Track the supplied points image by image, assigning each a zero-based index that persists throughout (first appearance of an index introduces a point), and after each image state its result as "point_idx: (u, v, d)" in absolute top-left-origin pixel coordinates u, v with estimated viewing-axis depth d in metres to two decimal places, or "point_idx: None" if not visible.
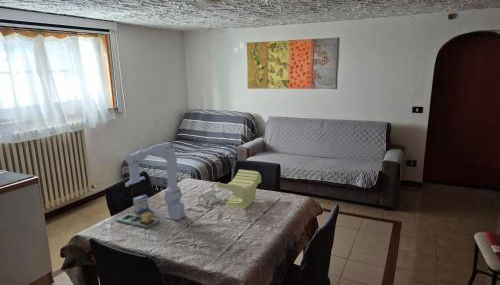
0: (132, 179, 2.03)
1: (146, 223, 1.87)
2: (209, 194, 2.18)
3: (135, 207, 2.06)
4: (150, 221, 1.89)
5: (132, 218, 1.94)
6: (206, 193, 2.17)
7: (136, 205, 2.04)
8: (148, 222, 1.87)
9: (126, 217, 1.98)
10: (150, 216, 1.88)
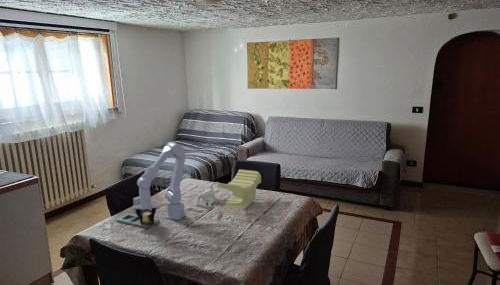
0: (140, 204, 1.86)
1: (146, 223, 1.87)
2: (208, 194, 2.17)
3: None
4: (150, 221, 1.89)
5: (132, 218, 1.94)
6: (205, 193, 2.17)
7: (136, 205, 2.04)
8: (148, 222, 1.87)
9: (126, 217, 1.98)
10: (150, 216, 1.88)
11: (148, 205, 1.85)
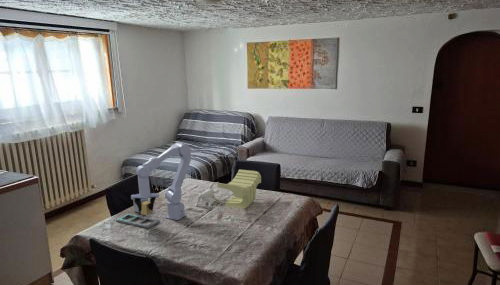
0: (139, 193, 1.85)
1: (145, 212, 1.86)
2: (208, 194, 2.17)
3: (135, 207, 2.06)
4: (149, 210, 1.87)
5: (132, 218, 1.94)
6: (205, 194, 2.16)
7: (136, 205, 2.04)
8: (147, 211, 1.86)
9: (126, 217, 1.98)
10: (149, 205, 1.87)
11: (147, 194, 1.84)
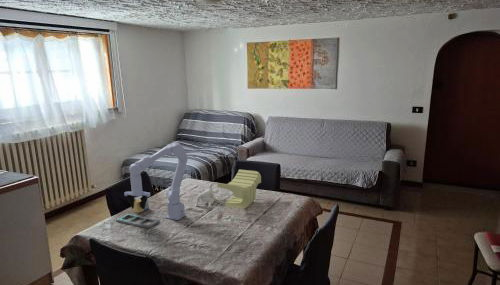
0: None
1: (136, 210, 1.88)
2: (208, 195, 2.17)
3: None
4: (141, 208, 1.89)
5: (132, 218, 1.94)
6: (205, 194, 2.16)
7: None
8: (138, 209, 1.88)
9: (126, 217, 1.98)
10: (141, 203, 1.88)
11: (138, 192, 1.86)
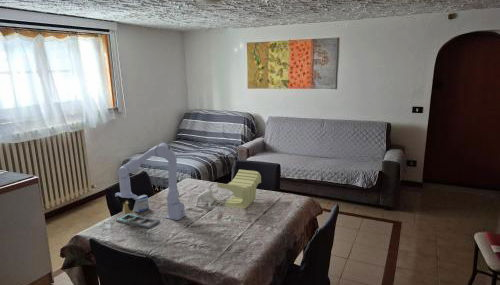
0: None
1: (124, 211, 1.92)
2: (207, 195, 2.16)
3: (135, 207, 2.06)
4: (129, 210, 1.92)
5: (132, 218, 1.94)
6: (204, 194, 2.16)
7: (136, 205, 2.04)
8: (126, 210, 1.92)
9: (126, 217, 1.98)
10: None
11: (125, 194, 1.89)
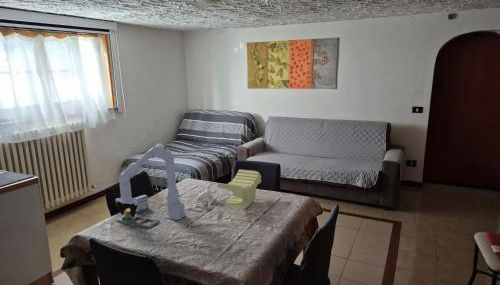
0: None
1: (125, 219, 1.93)
2: (206, 195, 2.16)
3: None
4: (129, 218, 1.93)
5: (132, 218, 1.94)
6: (204, 194, 2.15)
7: None
8: (127, 218, 1.93)
9: None
10: (130, 213, 1.93)
11: (126, 200, 1.90)
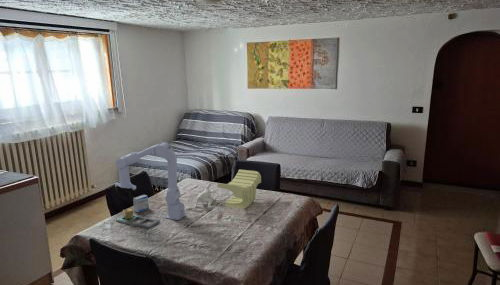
0: None
1: (125, 219, 1.93)
2: (206, 195, 2.16)
3: (135, 207, 2.06)
4: (129, 218, 1.93)
5: (132, 218, 1.94)
6: (203, 194, 2.15)
7: (136, 205, 2.04)
8: (127, 218, 1.93)
9: None
10: (130, 213, 1.93)
11: (124, 184, 1.94)
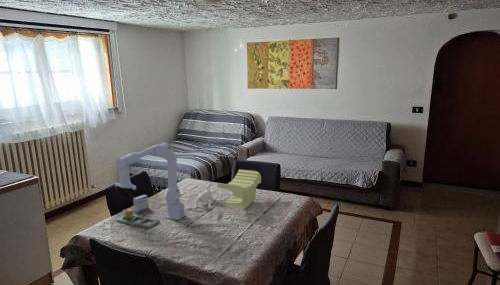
0: None
1: (125, 219, 1.93)
2: (206, 195, 2.15)
3: (135, 207, 2.06)
4: (129, 218, 1.93)
5: (132, 218, 1.94)
6: (203, 195, 2.14)
7: (136, 205, 2.04)
8: (127, 218, 1.93)
9: None
10: (130, 213, 1.93)
11: (124, 184, 1.94)
